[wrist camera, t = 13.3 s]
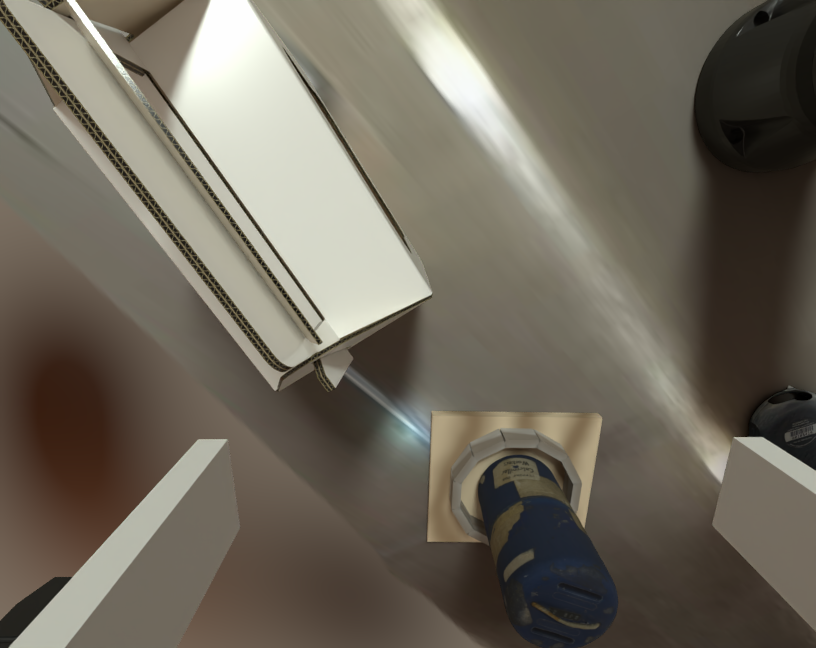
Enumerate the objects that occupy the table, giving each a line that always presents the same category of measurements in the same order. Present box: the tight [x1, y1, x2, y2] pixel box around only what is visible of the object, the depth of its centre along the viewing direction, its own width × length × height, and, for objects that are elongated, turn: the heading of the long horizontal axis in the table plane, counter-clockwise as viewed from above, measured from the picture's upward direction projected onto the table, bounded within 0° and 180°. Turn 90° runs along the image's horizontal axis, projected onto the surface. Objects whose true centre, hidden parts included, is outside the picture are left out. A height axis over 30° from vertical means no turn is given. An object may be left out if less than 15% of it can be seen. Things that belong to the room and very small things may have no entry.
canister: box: [478, 455, 618, 648], centre depth 41 cm, size 10×10×18 cm
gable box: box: [0, 0, 433, 392], centre depth 28 cm, size 22×13×28 cm, turn 32°
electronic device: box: [749, 385, 816, 471], centre depth 48 cm, size 9×6×15 cm
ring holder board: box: [427, 411, 602, 546], centre depth 49 cm, size 20×18×4 cm
